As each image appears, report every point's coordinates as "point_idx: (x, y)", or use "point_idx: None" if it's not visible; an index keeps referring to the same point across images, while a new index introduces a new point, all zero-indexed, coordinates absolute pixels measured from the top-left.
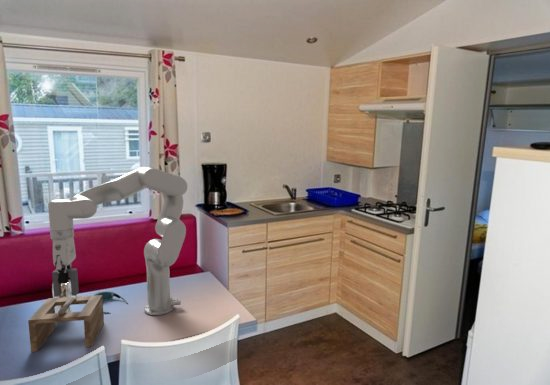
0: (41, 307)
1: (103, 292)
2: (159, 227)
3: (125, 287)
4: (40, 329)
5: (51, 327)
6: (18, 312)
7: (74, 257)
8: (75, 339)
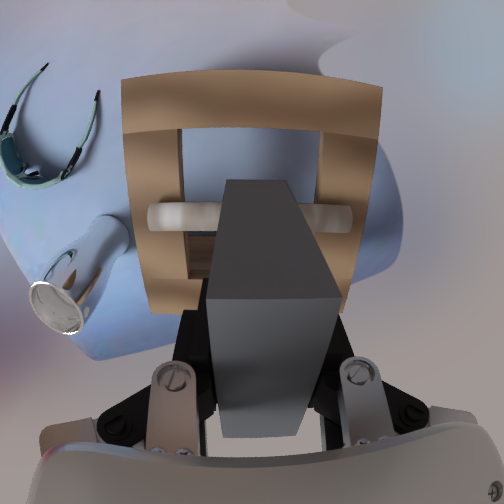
0: None
1: (4, 163)
2: None
3: None
4: None
5: (207, 242)
6: (106, 338)
7: (136, 494)
8: (272, 148)
